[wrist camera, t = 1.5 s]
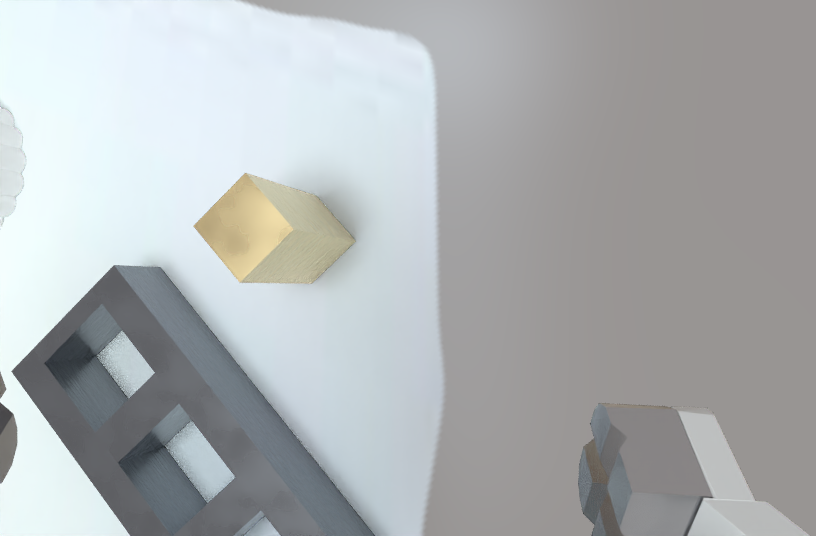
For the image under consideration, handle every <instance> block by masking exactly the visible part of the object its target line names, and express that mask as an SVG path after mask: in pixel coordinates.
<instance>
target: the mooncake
mask: <svg viewBox="0 0 816 536" xmlns="http://www.w3.org/2000/svg"><path fill="white" fill-rule="evenodd" d="M22 143H23V137H22V134H21V132H20V131H19V130H18V129H17V128H15V127H14V118H13V115H12V114H11V112H9V111H8V110H6V109H3V108H1V104H0V228H1V227H2V225H3V222H4V217H7V216H9V215H11V214H12V213H13V211H14V210H15V207H16V198H15V197H16V196H17V195H19V194H20V193H21V191H22V189H23V186H24V179H23V176H22V174H21V173H22V171H23V170H24V168H25V166H26V156H25V154H24V152H23V151H22V150H21V147H22Z"/></svg>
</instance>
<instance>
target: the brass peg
mask: <svg viewBox="0 0 816 536" xmlns="http://www.w3.org/2000/svg"><path fill="white" fill-rule="evenodd" d="M194 227H195V229H196V230H197V231H198V232H199V233H200V235H201V236H202V237H203V238H204V240H205V241H206V242H207V243H208V244H209V246H210V247H211V248H212V249H213V251H214V252H215V253H216V254H217V255H218V257H219V258H220V259H221V260H222V261H223V263H224V264H225V265H226V266H227V268H228V269H229V270H230V271H231V272H232V274H233V275H234V276H235V277H236V278H237V280H238V281H239V282H240V283H306V284H312V283H313V282H314V281H315V280H316V279H317V278H318V277H319V276H320V275H321V274H322V273H323V272H324V271H326V270H327V269H328V268H329V267H330V266H331V265H332V264H333V263H334V262H335V261H336V260H337V259H338V258H339V257H340V256H341V255H342V254H343V253H344V252H345V251H346V250H347V249H348V248H349V247H350V246H351V245H352V244H354V243H355V242H356V241H355V240H354V238H353V237H352V236H351V235H350V234H349V233H348V232H347V230H346V229H345V228H344V227H343V226H342V225H341V224H340V222H339V221H338V220H337V219H336V218H335V217H334V216H333V214H332V213H331V212H330V211H329V210H328V209H327V208H326V206H325V205H324V204H323V203H322V202H321V201H320V199H319V198H318V197H317V196H315V195H312V194H309V193H306V192H303V191H300V190H297V189H294V188H291V187H287V186H284V185H281V184H278V183H275V182H272V181H269V180H266V179H263V178H260V177H257V176H254V175H250V174H247V173H245V174H244V175H243V176H242V177H241V178H240V179H239V180H238V181H237V182H236V183H235V184H234V185H233V186H232V187H231V188H230V189H229V190H228V191H227V192H226V193H225V194H224V195H223V196H222V197H221V198H220V199H219V200H218V201H217V202H216V203H215V204H214V205H213V207H212V208H211V209H210V210H209V211H208V212H207V213H206V214H205V215H204V216H203V217H202V218H201V219H200V220H199V221H198V222H197V223H196V224H195V225H194Z"/></svg>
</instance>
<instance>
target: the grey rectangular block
mask: <svg viewBox="0 0 816 536" xmlns="http://www.w3.org/2000/svg"><path fill="white" fill-rule="evenodd" d="M121 330H123V332H124V333H125V334H126V335H127V337H128V338H129V339H130V341H131V342H132V343H133V345H134V346H135V347H136V348H137V350H138V351H139V352H140V354H141V355H142V356H143V358H144V359H145V360H146V361H147V363H148V364H149V365H150V367H151V368H152V369H153V370H154V372H155V374H154V375H153V376H152V377H151V378H150V379H149V380H148V381H147V382H146V383H145V384H144V385H143V386H142V387H141V388H140V389H139V390H138V391H136V392H135V393H134V394H133V395H132V396H131V397H130V398H129V399H128V398H127V397H126V396H125V394H124V393H123V392H122V390H121V389H120V388H119V386H118V385H117V384H116V382H115V381H114V380H113V378H112V377H111V376H110V374H109V373H108V372H107V370H106V369H105V368H104V366H103V365H102V364H101V362H100V361H99V360H98V358H97V357H96V355H97V354H98V353H99V352H100V351H101V350H102V349H103V348H104V347H105V346H106V345H107V344H108V343H109V342H110V341H111V340H112V339H113V338H114V337H115V336H116V335H117V334H118V333H119V332H120V331H121ZM12 373H13V374H14V376H15V377H16V378H17V380H18V381H19V382H20V384H21V385H22V387H23V388H24V389H25V391H26V392H27V394H28V395H29V396H30V398H31V399H32V400H33V402H34V403H35V405H36V406H37V407H38V409H39V410H40V411H41V413H42V414H43V416H44V417H45V418H46V420H47V421H48V423H49V424H50V425H51V427H52V428H53V429H54V431H55V432H56V434H57V435H58V436H59V438H60V439H61V440H62V442H63V443H64V445H65V446H66V447H67V449H68V450H69V452H70V453H71V454H72V456H73V457H74V458H75V460H76V461H77V463H78V464H79V465H80V467H81V468H82V469H83V471H84V472H85V474H86V475H87V476H88V478H89V479H90V481H91V482H92V483H93V485H94V486H95V487H96V489H97V490H98V492H99V493H100V494H101V496H102V497H103V498H104V500H105V501H106V503H107V504H108V505H109V507H110V508H111V510H112V511H113V512H114V514H115V515H116V516H117V518H118V519H119V521H120V522H121V523H122V525H123V526H124V527H125V529H126V530H127V532H128V533H129V534H130V536H243V535H244V534H245V533H246V532H247V531H248V530H249V529H251V528H252V527H253V526H254V525H255V524H256V523H257V522H258V521H259V520H260V519H262V518H263V517H264V516H266V517H267V518H268V520H269V521H270V522H271V524H272V525H273V526H274V528H275V529H276V530H277V531H278V533H279V534H280V535H281V536H375V535H374V534H373V533H372V532H371V530H370V529H369V528H368V527H367V525H366V524H365V523H364V522H363V520H362V519H361V518H360V517H359V515H358V514H357V513H356V512H355V510H354V509H353V508H352V507H351V505H350V504H349V503H348V502H347V500H346V499H345V498H344V497H343V495H342V494H341V493H340V492H339V490H338V489H337V488H336V487H335V485H334V484H333V483H332V482H331V480H330V479H329V478H328V477H327V475H326V474H325V473H324V472H323V470H322V469H321V468H320V467H319V465H318V464H317V463H316V462H315V460H314V459H313V458H312V457H311V455H310V454H309V453H308V452H307V450H306V449H305V448H304V447H303V445H302V444H301V443H300V442H299V440H298V439H297V438H296V437H295V435H294V434H293V433H292V432H291V430H290V429H289V428H288V427H287V425H286V424H285V423H284V422H283V420H282V419H281V418H280V417H279V415H278V414H277V413H276V412H275V410H274V409H273V408H272V407H271V405H270V404H269V403H268V402H267V400H266V399H265V398H264V397H263V395H262V394H261V393H260V392H259V390H258V389H257V388H256V387H255V385H254V384H253V383H252V382H251V380H250V379H249V378H248V377H247V375H246V374H245V373H244V372H243V370H242V369H241V368H240V367H239V365H238V364H237V363H236V362H235V360H234V359H233V358H232V357H231V355H230V354H229V353H228V352H227V350H226V349H225V348H224V347H223V345H222V344H221V343H220V342H219V340H218V339H217V338H216V337H215V335H214V334H213V333H212V332H211V330H210V329H209V328H208V327H207V325H206V324H205V323H204V322H203V320H202V319H201V318H200V317H199V315H198V314H197V313H196V312H195V310H194V309H193V308H192V307H191V305H190V304H189V303H188V302H187V300H186V299H185V298H184V297H183V295H182V294H181V293H180V292H179V290H178V289H177V288H176V287H175V285H174V284H173V283H172V282H171V280H170V279H169V278H168V277H167V275H166V274H165V273H164V272H163V270H162V269H161V268H160V267H141V266H120V265H114V266H113V267H112V268H111V269H110V270H109V271H108V272H107V273H106V274H105V275H104V276H103V277H102V278H101V279H100V280H99V281H98V282H97V283H96V284H95V286H94V287H93V288H92V289H91V290H90V291H89V292H88V293H87V294H86V295H85V296H84V297H83V298H82V299H81V300H80V301H79V302H78V303H77V304H76V305H75V306H74V307H73V308H72V309H71V310H70V311H69V312H68V313H67V314H66V316H65V317H64V318H63V319H62V320H61V321H60V322H59V323H58V324H57V325H56V326H55V327H54V328H53V329H52V330H51V331H50V332H49V333H48V334H47V335H46V336H45V337H44V338H43V339H42V340H41V341H40V342H39V343H38V344H37V346H36V347H35V348H34V349H33V350H32V351H31V352H30V353H29V354H28V355H27V356H26V357H25V358H24V359H23V360H22V361H21V362H20V363H19V364H18V365H17V366H16V367H15V368H14V369H13V370H12ZM191 420H192V421H193V422H194V424H195V425H196V426H197V428H198V429H199V430H200V431H201V433H202V434H203V435H204V437H205V438H206V439H207V441H208V442H209V443H210V444H211V446H212V447H213V448H214V450H215V451H216V452H217V454H218V455H219V456H220V457H221V459H222V460H223V461H224V463H225V464H226V465H227V467H228V468H229V469H230V470H231V472H232V473H233V474H234V476H235V477H236V478H235V479H234V480H233V481H232V482H231V483H230V484H228V485H227V486H226V487H225V488H224V489H223V490H222V491H221V492H220V493H219V494H218V495H217V496H215V497H214V498H213V499H212V500H211V501H210V502H209V503H208V504H207V503H206V501H205V500H204V499H203V498H202V496H201V495H200V494H199V492H198V491H197V490H196V488H195V487H194V486H193V484H192V483H191V482H190V480H189V479H188V478H187V476H186V475H185V474H184V472H183V471H182V470H181V468H180V467H179V466H178V464H177V463H176V462H175V460H174V459H173V458H172V456H171V455H170V454H169V453H168V451H167V450H166V449H165V447H164V445H166V444H167V443H168V442H169V441H170V440H171V439H172V438H173V437H174V436H175V435H176V434H177V433H178V432H179V431H180V430H181V429H182V428H183V427H184V426H185V425H186V424H187V423H189V422H190V421H191Z"/></svg>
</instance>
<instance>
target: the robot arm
mask: <svg viewBox="0 0 816 536" xmlns="http://www.w3.org/2000/svg"><path fill="white" fill-rule="evenodd" d="M5 391H6V387H5V384H4V381H3V379H2V376H1V373H0V398H1V397H2V395H3V394H4V392H5ZM590 425H591V428H592V432H593V436H594V439H593V440H592V441H591V442H589V443H588V444H586V445H585V446H584V447H583V451H582V455H581V459H580V464H579V480H578V485H579V495H580V501H581V506H582V510H583V514H584V515H585V516H586V517H587V518H588V519H589V520H590V521H591V522H592V523H593V524H594V529H593V532H592V536H810V535H809V534H807V533H806V532H805V531H804V530H802V529H801V528H800V527H798V526H797V525H796V524H795V523H793V522H792V521H791V520H790V519H788V518H787V517H786V516H785V515H783V514H782V513H781V512H779V511H778V510H777V509H775V508H774V507H773V506H772V505H771V504H769V503H768V502H763V501H756V500H755V498H754V496H753V494H752V492H751V490H750V488H749V485H748V483H747V481H746V479H745V477H744V475H743V473H742V471H741V469H740V467H739V465H738V463H737V461H736V459H735V457H734V455H733V453H732V451H731V448H730V446H729V445H728V442H727V440H726V438H725V436H724V434H723V432H722V430H721V428H720V426H719V424H718V422H717V420H716V418H715V416H714V414H713V413H712V412H711V411H710V410H709V409H708V408H699V407H676V406H671V407H665V406H645V405H627V404H606V403H599V404H598V406H597V407H596V409H595V410H594V413H593V417H592V420H591V423H590ZM16 447H17V426H16V422H15V418H14V414H13V413H12V412H11V411H9V410H8V409H7V408H6V407H5V406H4V405H2V404H1V403H0V483H2V482H3V480H4V478H5V476H6V475H7V473H8V471H9V469H10V467H11V466H12V463H13V459H14V455H15V451H16Z"/></svg>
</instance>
